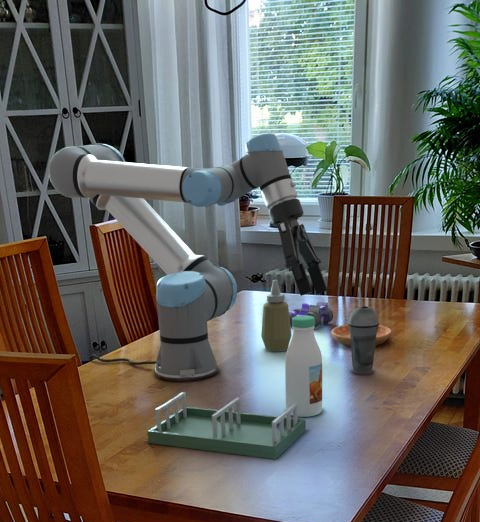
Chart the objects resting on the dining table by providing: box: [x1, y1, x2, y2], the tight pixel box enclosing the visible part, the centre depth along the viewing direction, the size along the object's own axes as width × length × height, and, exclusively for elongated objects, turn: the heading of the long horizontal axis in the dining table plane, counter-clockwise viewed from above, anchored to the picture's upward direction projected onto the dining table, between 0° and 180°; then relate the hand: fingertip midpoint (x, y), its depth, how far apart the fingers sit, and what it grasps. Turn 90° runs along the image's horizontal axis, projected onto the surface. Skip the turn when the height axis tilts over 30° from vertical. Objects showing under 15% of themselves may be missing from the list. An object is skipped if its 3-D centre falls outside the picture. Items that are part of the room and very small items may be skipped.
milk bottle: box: [284, 315, 323, 418], centre depth 180 cm, size 8×8×20 cm
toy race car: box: [289, 301, 334, 330], centre depth 254 cm, size 10×15×6 cm, turn 54°
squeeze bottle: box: [260, 279, 293, 352], centre depth 227 cm, size 8×8×18 cm
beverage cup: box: [347, 286, 380, 376], centre depth 204 cm, size 7×7×20 cm
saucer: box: [331, 323, 392, 347], centre depth 234 cm, size 16×16×3 cm
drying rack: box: [147, 391, 307, 460], centre depth 171 cm, size 27×16×6 cm, turn 66°
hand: (314, 293), depth 201 cm, fingers open, 13 cm apart
